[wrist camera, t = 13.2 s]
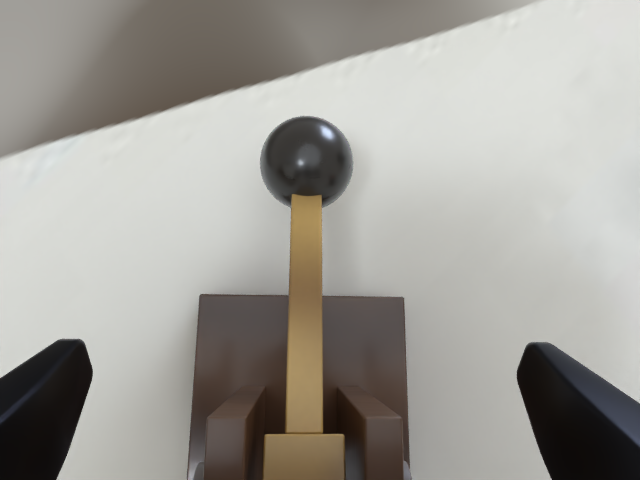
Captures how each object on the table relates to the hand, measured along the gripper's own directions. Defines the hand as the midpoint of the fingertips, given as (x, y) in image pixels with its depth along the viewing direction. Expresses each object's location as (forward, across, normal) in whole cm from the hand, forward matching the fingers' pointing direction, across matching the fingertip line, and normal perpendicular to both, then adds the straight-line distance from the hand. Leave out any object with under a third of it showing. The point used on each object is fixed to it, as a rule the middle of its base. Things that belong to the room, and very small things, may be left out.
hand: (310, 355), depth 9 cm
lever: (+6, 0, +4) cm, 7 cm away
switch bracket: (+6, 0, +10) cm, 12 cm away
